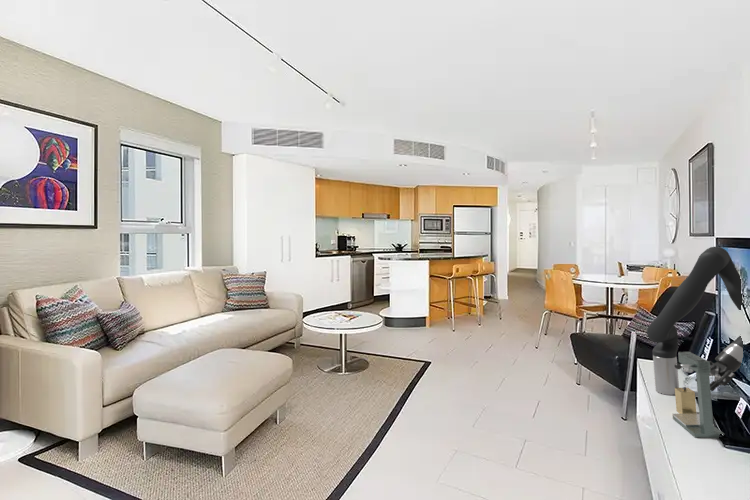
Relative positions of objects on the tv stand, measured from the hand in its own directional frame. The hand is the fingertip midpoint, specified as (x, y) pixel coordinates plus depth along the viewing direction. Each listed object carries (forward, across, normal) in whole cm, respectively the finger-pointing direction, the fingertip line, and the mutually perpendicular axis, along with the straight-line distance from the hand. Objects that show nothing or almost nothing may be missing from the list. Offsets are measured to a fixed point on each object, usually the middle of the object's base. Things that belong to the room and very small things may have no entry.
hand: (703, 385), depth 169 cm
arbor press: (+16, +13, 0) cm, 21 cm away
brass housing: (+13, 0, +3) cm, 14 cm away
